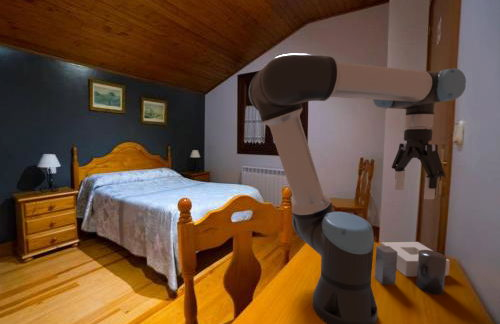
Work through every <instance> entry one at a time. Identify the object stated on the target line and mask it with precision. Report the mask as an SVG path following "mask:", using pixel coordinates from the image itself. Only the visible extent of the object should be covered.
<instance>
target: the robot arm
mask: <svg viewBox="0 0 500 324" xmlns="http://www.w3.org/2000/svg"><path fill="white" fill-rule="evenodd" d="M466 83H467V79H466V76H465V73H464V72H463V71H462V70H461V69H459V68H457V67H456V68H455V67H453V68H448V69H442V70H439V71H429V70H428V71H427V70H426V71H425V70H416V69H415V70H414V69H406V68H398V67H397V68H396V67H387V66H379V65H378V66H377V65H376V66H375V65H368V64H367V65H365V64H358V63H348V62H347V63H346V62H338V61H337V60H336V59H335V57H333V56H330V55H329V56H328V55H322V54H321V55H320V54H309V53H287V54H286V53H285V54H282V55H278V56H276V57H274V58H272V59H271V60H270V61H269V62H268V63H267V64H266V65H265V66H264V67H263V68H261V69H260V70H259V71H257V72H256V73H255V75H254V76H253V77H252V80H251V81H250V84H249V87H248V99H249V101H250V103H251V104H252V106H253V107H254V109H256V110H257V112H258V113H259V117H260V119H261V123H262V124H265V125H266V126H268V127H269V129H270V132H271V136H272V138H273V141H274V144H275V148H276V151H277V154H278V156H279V160H280V162H281V166H282V168H283V172H284V175H285V177H286V180H287V184H288V186H289V189H290V192H291V194H292V195H291V196H292V199H293V201H294V203H293V205H292V207H291V211H292V214H293V215H292V219H291V222H292V223H291V224H292V227H293V230H294V231H295V233H296V234H297V236H298V238H300V239H301V240H302V241H303V242H304V243H306V244H307V245H308V246H309V247H311V249H312V250H314V251H315V252H316V253H317V254H318V255H319V256H320V257H321V260H320V276H319V278H318V281H317V283H316V286H315V288H314V291H313V293H312V307H313V310H314V312H315V313H316V315H317V316H318V317H319V318H320V319H321V320H322V321H324V322H325V323H326V324H377V322H378V313H379V312H378V311H379V310H378V306H377V305H378V304H377V302H376V299H375V295H374V291H373V289H372V275H373V274H372V273H373V261H374V259H373V257H374V248H375V239H374V229H373V226H372V225H371V224H370V222H369V221H367V220H366V219H365V218H363V217H361V216H360V215H356V214H353V213H352V214H351V213H349V212H344V211H335V210H334V206H333V204H332V199H331V198H330V197H329V196H327V195H325V194H324V192H323V189H322V185H321V183H320V180H319V176H318V173H317V169H316V166H315V163H314V159H313V157H312V153H311V150H310V147H309V145H308V139H307V137H306V135H305V131H304V128H303V125H302V121H301V118H300V116H301V113H302V111H303V105H302V104H303V103H308V102H314V101H315V102H317V101H320V102H325V101H327V100H329V99H330V98H342V99H343V98H344V99H346V98H347V99H360V100H361V99H364V100H372V101H373V103H374V105H375V106H376V107H377V108H381V109H382V108H383V109H392V110H393V109H397V110H405V117H404V128H405V129H404V131H403V132H404V133H403V141H405V142H406V143H399V146H398V150H397V153H396V155H395V158H394V160H393V162H392V165H391V169H392V170H393V169H394V171H395V177H394V179H395V185H394V190H397V191H403V190H404V189H405V178H406V177H405V176H406V172H405V171H406V170H405V168H407V166H408V165H409V163H410V162H411V161H412V159H414V158H415V159H417V160H419V162H420V163H421V165H422V167H423V169H424V171H425V172H426V173H425V174H426V176H425V181H424V192H423V199H424V200H435V195H436V189H437V185H438V179H439V178H440V177H444V176H445V171H444V168H443V165H442V161H441V158H440V156H439V154H440V153H439V152H438V151H439V149H438V144H436V143H433V144H432V143H429V142H431V141H432V140H433V130H432V128H433V127H434V119H435V118H434V117H435V116H434V115H435V105H436V103H441V102H442V103H445V102H447V101H448V102H449V101H454V100H456V99H459V98H460V97H461V96H462V95H463V94H464V92H465V90H466V85H467V84H466Z"/></svg>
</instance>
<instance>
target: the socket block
mask: <svg viewBox="0 0 500 324" xmlns="http://www.w3.org/2000/svg"><path fill="white" fill-rule="evenodd" d="M380 246H390V247H391V248H392V249H394V250H395V251H397V266H396V271H399V273H401V274H402V275H403V276H404V277H417V270H418V256H419V251H420V250H431V251H433V250H432V249H431V248H429V247H427V246H425V245H424V244H423V243H420V242H419V241H391V242H386V241H385V242H382V241H381V242H380ZM450 261H451V260H450V259H448V258H447V259H446V271H445V277H446V276H449V273H450Z"/></svg>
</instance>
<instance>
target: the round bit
mask: <svg viewBox="0 0 500 324" xmlns="http://www.w3.org/2000/svg"><path fill="white" fill-rule="evenodd" d="M431 250H432V249H431ZM431 250H420V251H419V256H418V270H417V276H416V283H415V285H416V287H417V288H418V289H419V290H421V291H423V292H425V293H428V294H431V295H434V296H435V295H436V296H440V295H443V294H444V293H445V282H446V281H445V279H446V276H445V271H446V259H448V258H447V256H445V255H444V254H443V253H440V252H437V251H434V250H432V251H431Z"/></svg>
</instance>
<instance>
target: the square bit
mask: <svg viewBox="0 0 500 324" xmlns="http://www.w3.org/2000/svg"><path fill="white" fill-rule="evenodd" d="M375 248H376V250H375V264H374V265H375V266H374V267H375V268H374V278H375V279H376V280H377V281H378V283H380V284H381V286H382V285H387V286H388V285H396V278H397V269H396V266H397V251H395V250H394V249H392V248H391V247H390V246H381V245H377V246H376V247H375Z"/></svg>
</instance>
